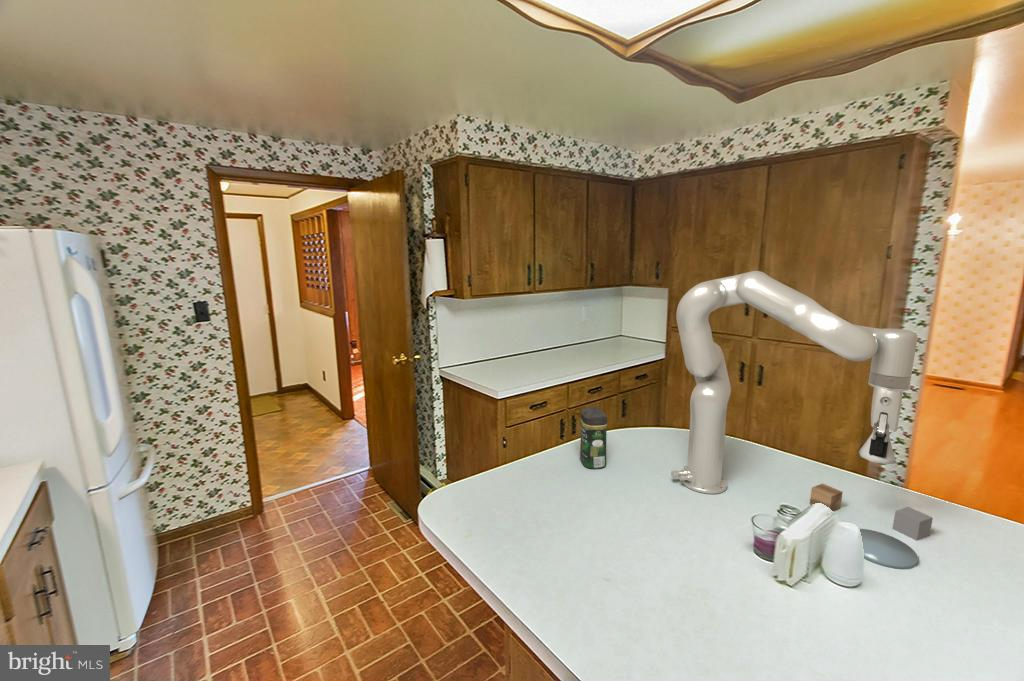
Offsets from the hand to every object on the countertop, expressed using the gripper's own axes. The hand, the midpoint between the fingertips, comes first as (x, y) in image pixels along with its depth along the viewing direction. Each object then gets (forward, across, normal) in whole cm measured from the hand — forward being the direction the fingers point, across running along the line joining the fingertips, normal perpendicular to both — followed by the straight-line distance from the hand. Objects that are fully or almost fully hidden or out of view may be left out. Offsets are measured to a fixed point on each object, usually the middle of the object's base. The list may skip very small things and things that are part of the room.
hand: (877, 451), depth 108 cm
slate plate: (+19, -12, -3) cm, 23 cm away
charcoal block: (+19, +1, -8) cm, 21 cm away
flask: (+2, 0, 0) cm, 2 cm away
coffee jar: (+20, -16, +70) cm, 75 cm away
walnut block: (+19, +2, +9) cm, 21 cm away
